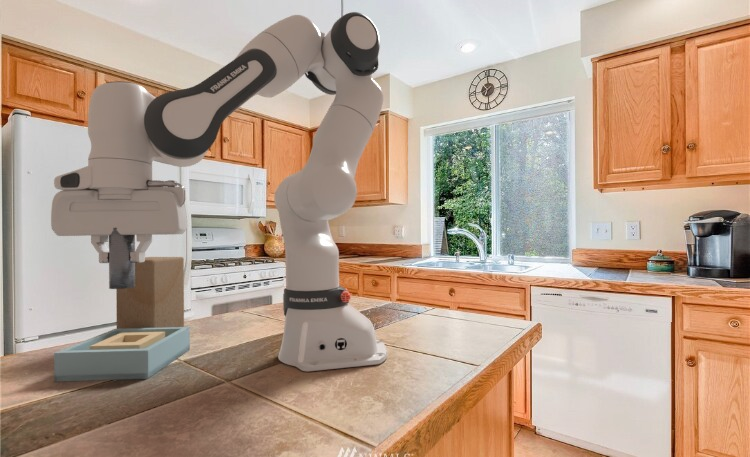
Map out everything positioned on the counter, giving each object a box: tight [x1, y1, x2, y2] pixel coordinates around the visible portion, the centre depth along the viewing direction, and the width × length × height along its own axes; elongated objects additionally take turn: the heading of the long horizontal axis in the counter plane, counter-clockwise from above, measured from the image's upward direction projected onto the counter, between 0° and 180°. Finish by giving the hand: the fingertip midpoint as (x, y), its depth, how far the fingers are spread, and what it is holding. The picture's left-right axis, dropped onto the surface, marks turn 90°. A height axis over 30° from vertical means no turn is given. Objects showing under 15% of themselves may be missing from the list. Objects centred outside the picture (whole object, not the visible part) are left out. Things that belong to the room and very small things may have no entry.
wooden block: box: [115, 256, 185, 329], centre depth 87 cm, size 10×10×20 cm
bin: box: [53, 326, 191, 383], centre depth 72 cm, size 16×16×5 cm
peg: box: [108, 228, 136, 290], centre depth 61 cm, size 4×4×10 cm
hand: (122, 262), depth 61 cm, fingers closed on peg, 4 cm apart
